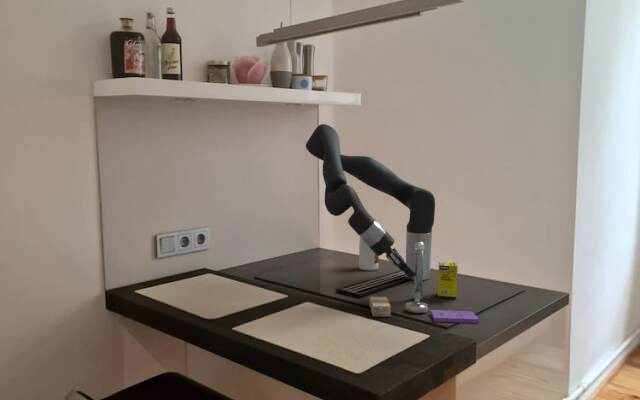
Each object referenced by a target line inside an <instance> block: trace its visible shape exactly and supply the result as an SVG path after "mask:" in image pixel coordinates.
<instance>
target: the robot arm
mask: <svg viewBox="0 0 640 400" xmlns="http://www.w3.org/2000/svg"><path fill="white" fill-rule="evenodd" d="M305 148H306V151H307V152H309V153H310V154H311V155H312V156H314V157H315V158H316V159H319V160H321V161H322V177H323V181H324V185H325V188H324V189H325V190H324V206H325V208H326V210H327V212H328V213H329V214H330V215H332V216H335V217H338V216H341V215H343V214H344V213H345V212H346V211H348V210H349V209H350V208H352V209H353V213H352V214H351V215H350V216H349V218H348V222H347V224H348V225H349V226H350V228H351V229H352V230H353V231H354V232H355V233H356V234H357V235H358V236H359V238H360V237H361V239H362V240H363V241H364V242H365V243H366V244H367V245H368V247H369V248H370V249H371V250H372V251H373V252H374V253H375V254H376V255H377V256H379V257H380V256H382V255H384V254H385V258H386V259H387V261H389V262H391V263H392V265H394V266H395V267H396V268H399V270H400V271H401V272H403V273H404V277H405V278H407V279H409V280H414V277H415V244H416V243H417V242H422V243H424V245H425V248H424V256H423V280H424V281H425V280H429V279H430V278H431V267H432V265H431V263H432V241H433V239H432V234H433V226H434V223H435V214H436V213H435V212H436V211H435V210H436V198H435V196H434V193H432V192H431V191H430V190H428V189H426V188H422V187H418V186H416V185H413V184H411V183H410V182H407V181H405V180H404V179H402V178H400V177H399V176H398V175H397V174H396V173H395V172H393V171H392V170H391V169H390V168H389V167H387V166H386V165H384V164H383V163H381V162H379V161H378V160H376V159H374V158H372V157H371V156H365V155H345V154H341V149H340V148H341V147H340V137H339V133H338V132H337V130H336V129H335V128H333V127H332V126H330V125H329V124H325V123H322V124H319V125H317V127H316V128H315V129H314V131H313V133H312V134H311V136H310V137H309V139H308V140H307V141H306V144H305ZM345 173H346V174H348V175H351V176H352V177H354V178H356V180H359V181H361V182H362V183H364V184H366V185H367V186H369V187H370V188H372V189H375V190H377V191H379V192H381V193H384V194H386V195H388V196H390V197H392V198H393V199H395V200H397V201H398V202H399V203H401V204H402V205H404V206H405V207H406V208H408V210H409V220H408V222H407V223H406V233H405V234H406V236H405V237H406V238H405V239H406V240H405V241H406V242H405V259H404V258H403V256H402V255H401V254H400V252H399V251H398V250H397V249H396V248H395V247H393V248H392V246H393V245H394V244H395V238H393V236H391V234H390V233H389V232H388V231H387V230H386V229H385V228H384V227H383V226H382V225H381V224H380V223H379V222H377V221H375V220H374V219H375V218H374V217H372V215H371V214H370V213H369V212H368V211H367V209H366V208H365V206H364V205H363V203H362V201H361V199H360V198H359V195H358V194H357V192H356V190H355V189H354V188H353V186H351V185H349V184H348V181H347V178H346V175H345ZM373 218H374V219H373Z"/></svg>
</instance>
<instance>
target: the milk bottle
mask: <svg viewBox="0 0 640 400" xmlns="http://www.w3.org/2000/svg"><path fill="white" fill-rule="evenodd" d="M373 219H374V220H375V221H376V218H374V217H373ZM376 222H377V221H376ZM358 245H359V247H358V249H359V250H358V268H359V269H360V270H363V271H377V270H378V269H379V261H380V260H379V259H380V256H377V255H376V254H375V253H374V252H373V251H372V250H371V249H370V248H369V247H368V245H367V244H366V243H365V242H364V241H363V240H362V239H361V237H360V236H359V244H358Z"/></svg>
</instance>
